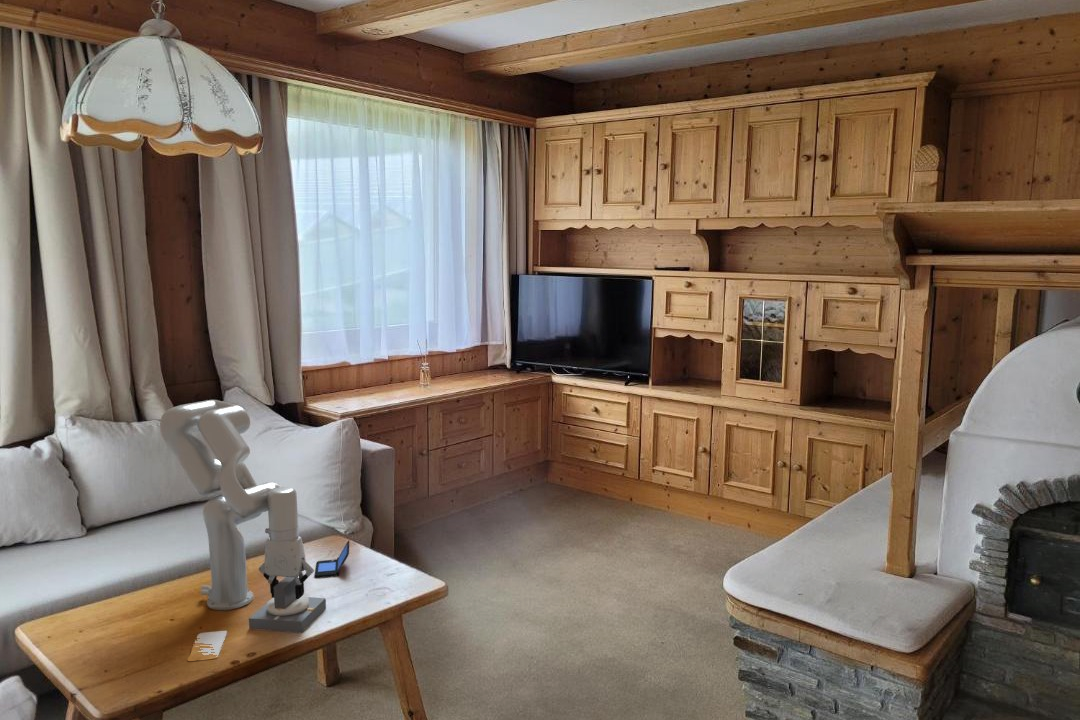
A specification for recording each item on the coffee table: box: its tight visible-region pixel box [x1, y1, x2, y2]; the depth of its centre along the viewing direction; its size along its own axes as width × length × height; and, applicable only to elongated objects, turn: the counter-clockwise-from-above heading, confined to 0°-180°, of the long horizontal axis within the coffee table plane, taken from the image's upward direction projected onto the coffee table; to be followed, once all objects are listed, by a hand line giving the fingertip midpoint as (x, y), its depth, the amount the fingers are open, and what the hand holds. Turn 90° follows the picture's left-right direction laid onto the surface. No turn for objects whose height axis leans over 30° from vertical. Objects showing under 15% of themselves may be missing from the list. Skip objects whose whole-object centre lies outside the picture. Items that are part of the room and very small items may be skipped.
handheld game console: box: [314, 540, 350, 579], centre depth 256 cm, size 12×11×7 cm
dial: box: [266, 577, 309, 616], centre depth 220 cm, size 11×11×8 cm
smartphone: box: [194, 630, 228, 658], centre depth 206 cm, size 7×1×15 cm
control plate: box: [248, 596, 327, 633], centre depth 221 cm, size 15×15×3 cm
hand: (287, 595), depth 221 cm, fingers open, 6 cm apart
